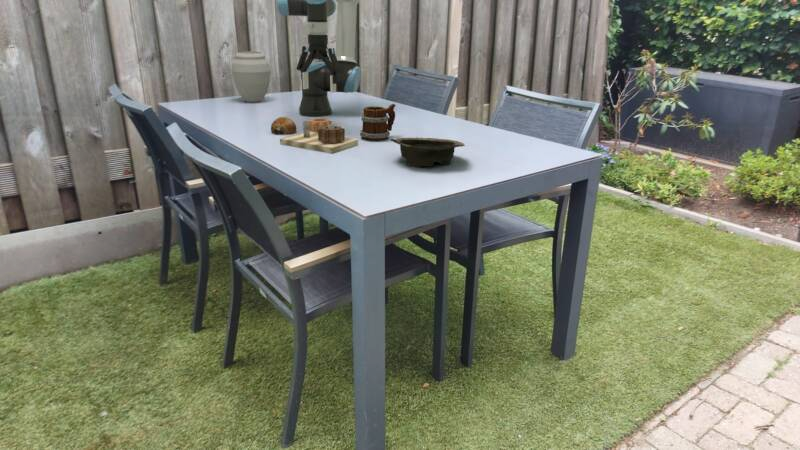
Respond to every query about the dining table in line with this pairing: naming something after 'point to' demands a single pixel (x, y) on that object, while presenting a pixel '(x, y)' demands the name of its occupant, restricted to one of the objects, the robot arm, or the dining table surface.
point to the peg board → (315, 144)
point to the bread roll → (283, 126)
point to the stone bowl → (427, 150)
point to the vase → (251, 75)
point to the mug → (377, 123)
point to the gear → (318, 124)
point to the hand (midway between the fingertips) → (319, 90)
